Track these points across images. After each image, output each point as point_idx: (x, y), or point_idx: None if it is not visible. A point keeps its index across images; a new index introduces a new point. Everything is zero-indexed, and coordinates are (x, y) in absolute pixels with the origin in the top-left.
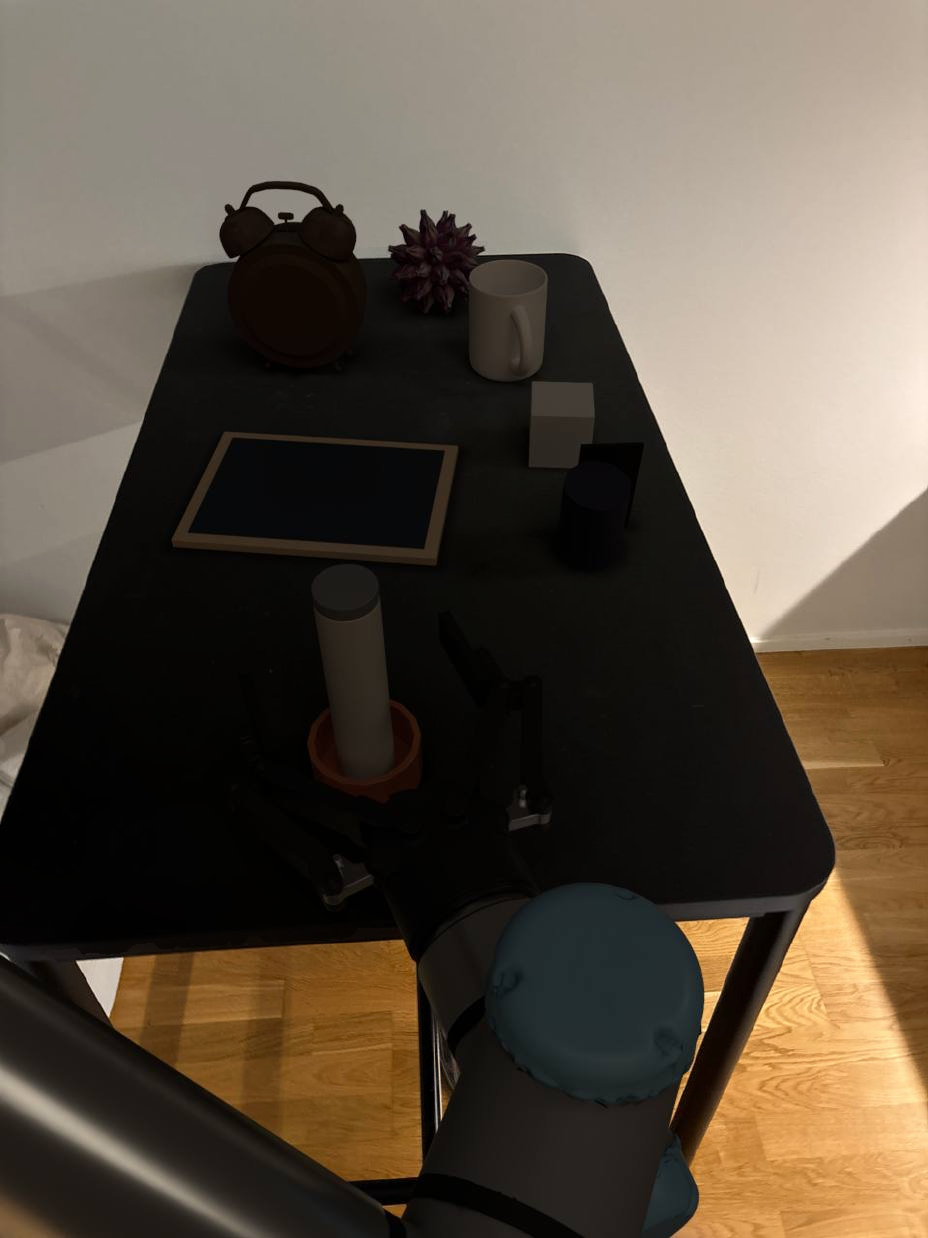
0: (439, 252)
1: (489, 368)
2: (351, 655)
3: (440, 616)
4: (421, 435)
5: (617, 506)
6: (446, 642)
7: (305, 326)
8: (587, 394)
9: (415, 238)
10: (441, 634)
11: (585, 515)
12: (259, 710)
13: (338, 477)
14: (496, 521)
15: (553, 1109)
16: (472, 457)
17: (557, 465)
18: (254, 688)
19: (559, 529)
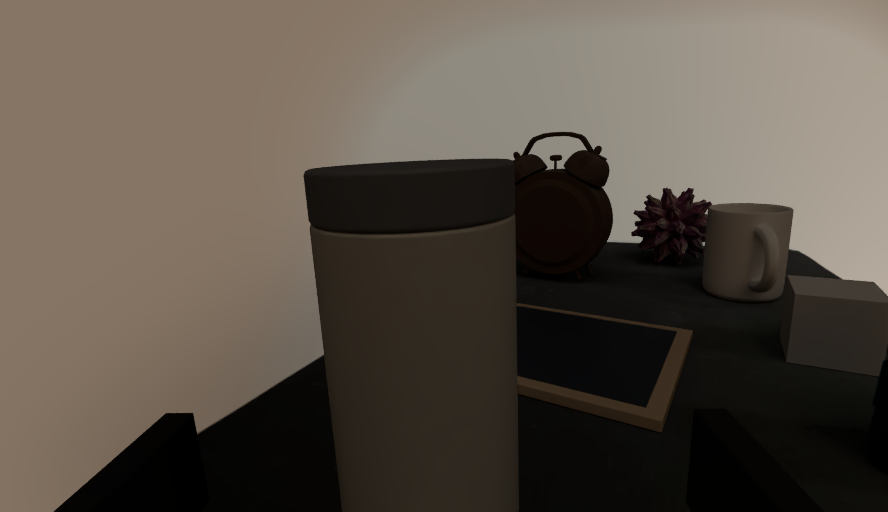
0: (677, 209)
1: (725, 286)
2: (376, 399)
3: (700, 416)
4: (650, 323)
5: None
6: (714, 502)
7: (557, 237)
8: (871, 288)
9: (657, 204)
10: (696, 478)
11: None
12: (81, 507)
13: (557, 333)
14: (749, 404)
15: None
16: (709, 344)
17: (829, 365)
18: (154, 448)
19: (879, 417)
